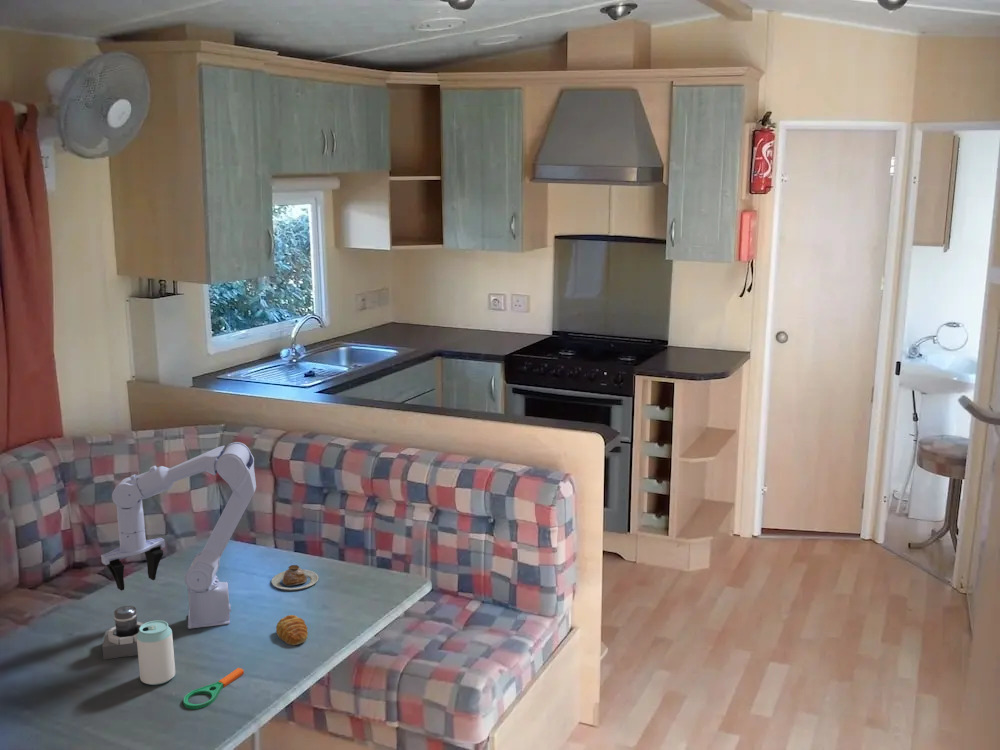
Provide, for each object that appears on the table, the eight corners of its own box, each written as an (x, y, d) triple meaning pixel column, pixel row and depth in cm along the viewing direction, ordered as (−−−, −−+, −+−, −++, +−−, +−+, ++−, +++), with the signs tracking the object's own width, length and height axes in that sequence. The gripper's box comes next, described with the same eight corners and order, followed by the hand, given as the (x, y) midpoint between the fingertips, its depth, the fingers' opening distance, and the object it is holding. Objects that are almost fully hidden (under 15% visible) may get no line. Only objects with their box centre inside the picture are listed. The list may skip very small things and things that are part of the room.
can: (155, 690, 201) (150, 637, 198) (133, 680, 204) (128, 628, 202) (182, 675, 206) (178, 623, 204) (160, 666, 210) (156, 615, 207)
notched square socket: (153, 636, 223) (152, 619, 222) (151, 653, 216) (150, 635, 215) (107, 642, 220) (105, 625, 219) (103, 659, 213) (101, 641, 212)
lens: (142, 634, 218) (140, 609, 216) (123, 642, 214) (120, 616, 213) (131, 628, 221) (129, 603, 219) (112, 635, 217) (109, 610, 216)
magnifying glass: (198, 714, 193) (198, 706, 193) (176, 705, 196) (176, 698, 195) (251, 678, 206) (251, 671, 206) (230, 671, 209) (230, 664, 208)
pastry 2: (269, 576, 256) (268, 560, 254) (315, 571, 259) (314, 554, 258) (273, 596, 244) (272, 579, 243) (321, 589, 248) (320, 573, 247)
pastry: (314, 642, 221) (313, 627, 220) (285, 650, 217) (284, 635, 217) (301, 625, 229) (300, 610, 228) (273, 632, 225) (272, 617, 225)
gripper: (153, 516, 232) (157, 569, 235) (93, 533, 222) (98, 588, 225) (167, 524, 227) (171, 578, 230) (107, 541, 217) (112, 597, 220)
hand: (136, 583), depth 227 cm, fingers open, 7 cm apart
